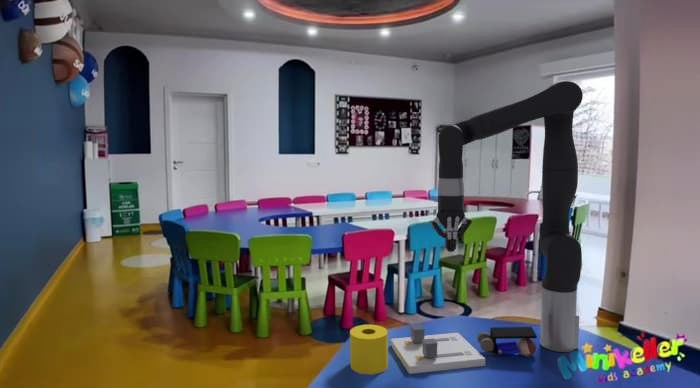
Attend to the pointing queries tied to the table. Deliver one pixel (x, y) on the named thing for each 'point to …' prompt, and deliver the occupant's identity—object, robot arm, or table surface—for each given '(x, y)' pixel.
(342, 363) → the table surface
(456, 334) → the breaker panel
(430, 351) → the on handle
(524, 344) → the black toy car
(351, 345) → the tape roll
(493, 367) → the table surface
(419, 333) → the handle
